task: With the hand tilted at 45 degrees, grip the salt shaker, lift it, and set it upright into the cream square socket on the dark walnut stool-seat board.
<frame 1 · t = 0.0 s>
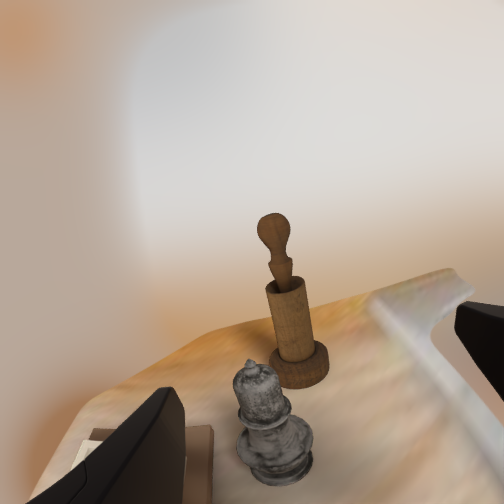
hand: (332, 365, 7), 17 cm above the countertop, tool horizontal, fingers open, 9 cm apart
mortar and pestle: (301, 371, 31), on the countertop
salt shaker: (281, 462, 19), on the countertop
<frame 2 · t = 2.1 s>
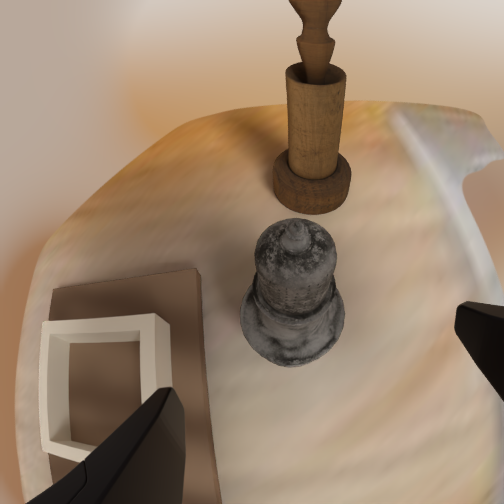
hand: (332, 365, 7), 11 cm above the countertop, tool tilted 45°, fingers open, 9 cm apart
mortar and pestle: (311, 187, 25), on the countertop
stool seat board: (118, 410, 16), on the countertop
salt shaker: (291, 329, 19), on the countertop
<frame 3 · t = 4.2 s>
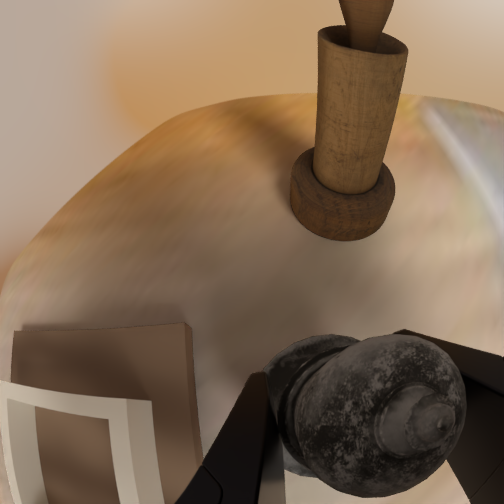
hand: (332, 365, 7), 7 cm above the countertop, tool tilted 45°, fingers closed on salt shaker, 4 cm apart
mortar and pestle: (339, 202, 18), on the countertop
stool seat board: (98, 486, 10), on the countertop
salt shaker: (317, 405, 12), on the countertop, touching gripper
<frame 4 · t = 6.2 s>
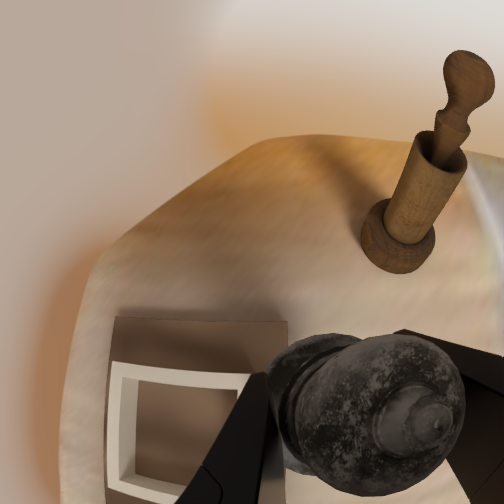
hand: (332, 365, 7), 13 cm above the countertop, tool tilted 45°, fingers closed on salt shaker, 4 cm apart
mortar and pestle: (394, 243, 24), on the countertop
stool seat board: (190, 448, 17), on the countertop
salt shaker: (319, 404, 12), point 6 cm above the countertop, touching gripper
when the fingers open (9 cm above the countertop, at t = 8.3 s): salt shaker stays where it is, resting on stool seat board.
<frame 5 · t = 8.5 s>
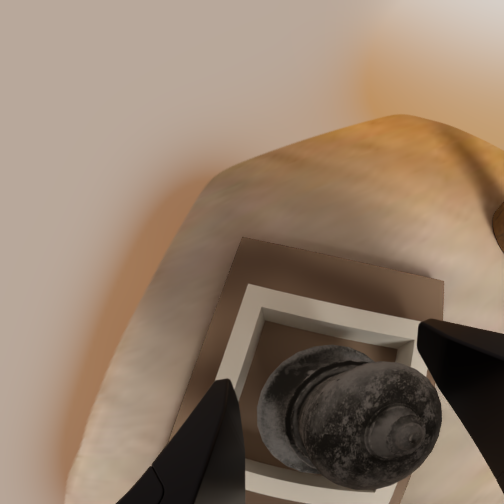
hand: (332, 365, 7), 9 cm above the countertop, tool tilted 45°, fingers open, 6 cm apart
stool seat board: (308, 420, 14), on the countertop
salt shaker: (317, 407, 13), point 1 cm above the countertop, touching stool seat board
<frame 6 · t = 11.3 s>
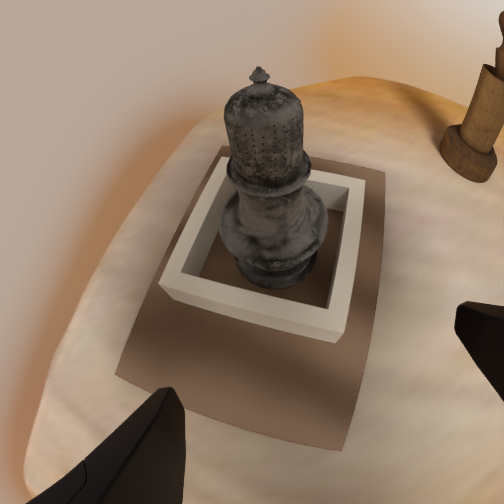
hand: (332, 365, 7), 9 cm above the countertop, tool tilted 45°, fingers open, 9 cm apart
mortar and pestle: (464, 161, 22), on the countertop
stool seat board: (270, 270, 19), on the countertop
salt shaker: (275, 252, 18), point 1 cm above the countertop, touching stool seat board
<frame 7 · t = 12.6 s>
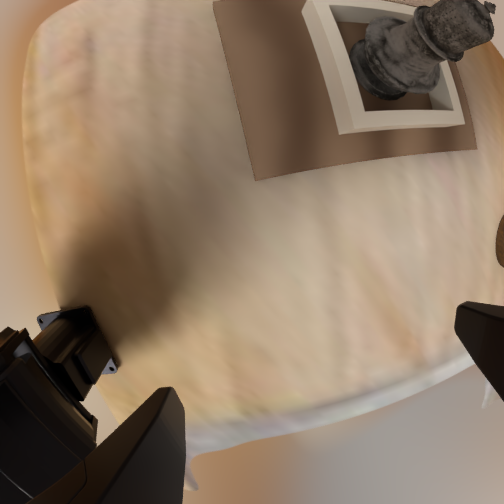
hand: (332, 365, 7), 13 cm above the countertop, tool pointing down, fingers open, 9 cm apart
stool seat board: (364, 70, 17), on the countertop
salt shaker: (380, 69, 16), point 1 cm above the countertop, touching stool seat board
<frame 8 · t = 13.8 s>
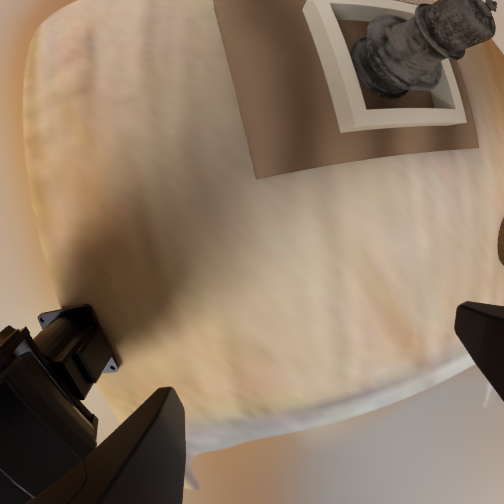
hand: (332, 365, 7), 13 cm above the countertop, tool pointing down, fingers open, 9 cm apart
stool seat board: (365, 69, 17), on the countertop
salt shaker: (381, 67, 16), point 1 cm above the countertop, touching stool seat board
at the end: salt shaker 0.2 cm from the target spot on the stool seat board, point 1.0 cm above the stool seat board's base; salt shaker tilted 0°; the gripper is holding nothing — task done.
